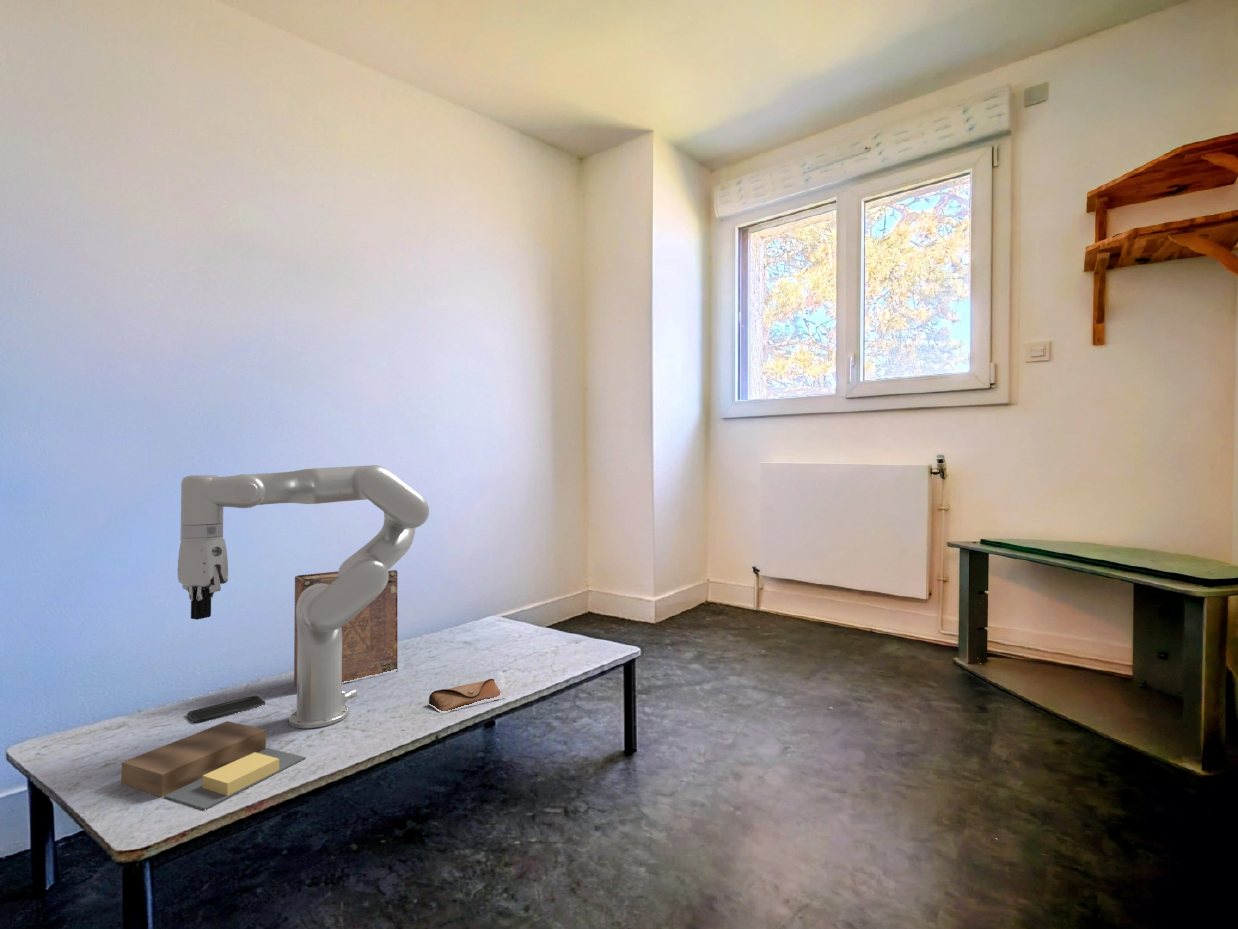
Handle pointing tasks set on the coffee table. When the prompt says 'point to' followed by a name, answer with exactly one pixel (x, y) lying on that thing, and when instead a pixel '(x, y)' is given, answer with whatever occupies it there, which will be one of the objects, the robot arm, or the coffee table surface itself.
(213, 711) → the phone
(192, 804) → the mat
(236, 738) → the brown wooden block
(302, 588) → the book
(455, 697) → the sunglasses case
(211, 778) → the tile
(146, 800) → the coffee table surface
